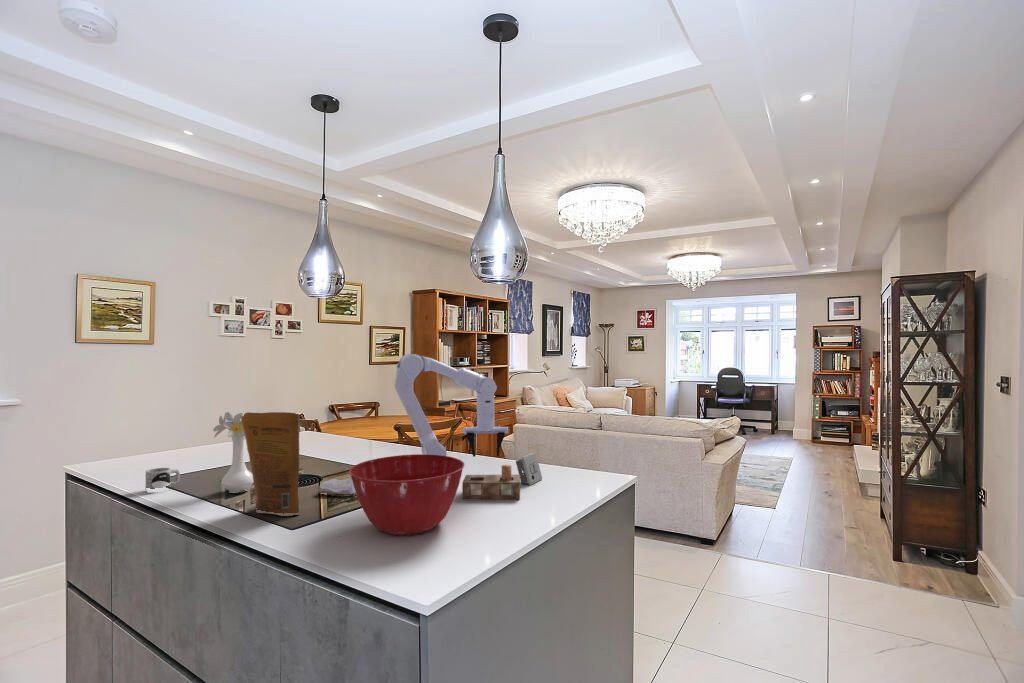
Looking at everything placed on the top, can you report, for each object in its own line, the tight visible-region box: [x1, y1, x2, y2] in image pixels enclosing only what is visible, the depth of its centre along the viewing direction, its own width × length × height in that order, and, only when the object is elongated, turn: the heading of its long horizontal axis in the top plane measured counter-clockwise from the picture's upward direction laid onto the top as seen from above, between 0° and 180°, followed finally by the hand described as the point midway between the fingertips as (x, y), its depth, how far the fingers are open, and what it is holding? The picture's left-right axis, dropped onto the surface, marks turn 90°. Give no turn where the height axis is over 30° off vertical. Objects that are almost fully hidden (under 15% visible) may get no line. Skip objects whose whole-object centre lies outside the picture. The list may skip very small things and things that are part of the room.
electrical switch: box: [515, 452, 543, 486], centre depth 179 cm, size 9×5×9 cm, turn 152°
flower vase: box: [212, 411, 254, 491], centre depth 170 cm, size 13×18×25 cm
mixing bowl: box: [348, 453, 465, 536], centre depth 134 cm, size 28×28×15 cm
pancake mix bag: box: [240, 411, 301, 514], centre depth 146 cm, size 7×19×28 cm, turn 66°
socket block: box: [461, 474, 521, 501], centre depth 163 cm, size 17×10×5 cm, turn 89°
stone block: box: [318, 477, 356, 494], centre depth 167 cm, size 12×5×10 cm
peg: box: [501, 464, 513, 481], centre depth 162 cm, size 3×3×8 cm
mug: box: [145, 467, 181, 489], centre depth 173 cm, size 10×7×7 cm, turn 150°
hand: (486, 455), depth 173 cm, fingers open, 7 cm apart
